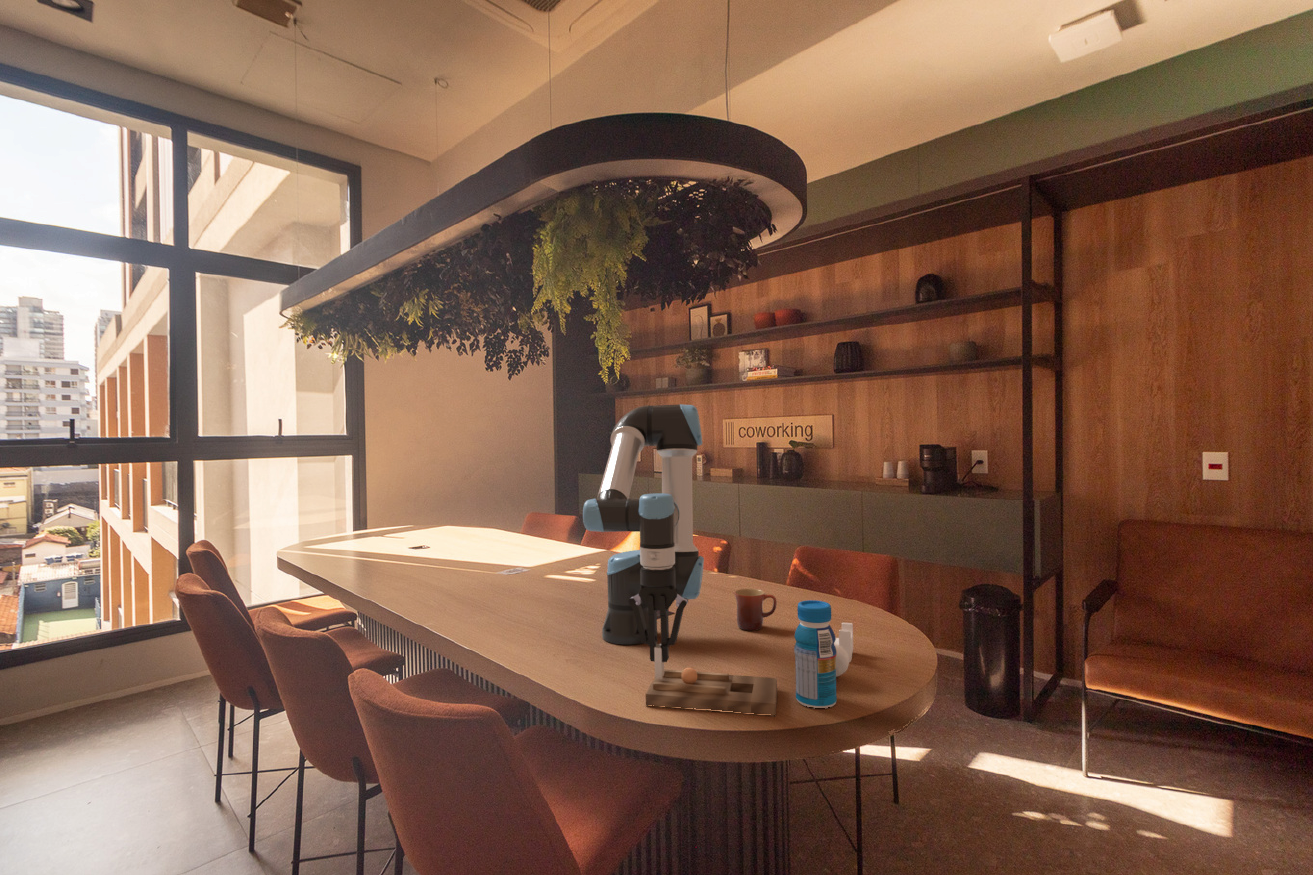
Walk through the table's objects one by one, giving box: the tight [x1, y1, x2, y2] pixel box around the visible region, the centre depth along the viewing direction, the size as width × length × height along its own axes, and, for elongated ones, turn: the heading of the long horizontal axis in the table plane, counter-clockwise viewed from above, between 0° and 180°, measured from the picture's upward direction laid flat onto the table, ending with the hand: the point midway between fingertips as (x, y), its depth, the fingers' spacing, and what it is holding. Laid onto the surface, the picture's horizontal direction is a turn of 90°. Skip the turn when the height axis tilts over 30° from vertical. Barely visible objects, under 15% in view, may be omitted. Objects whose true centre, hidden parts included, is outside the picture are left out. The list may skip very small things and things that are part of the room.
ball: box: [681, 667, 698, 684], centre depth 128 cm, size 3×3×3 cm
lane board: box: [645, 669, 778, 716], centre depth 127 cm, size 26×13×4 cm, turn 77°
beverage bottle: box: [793, 599, 837, 709], centre depth 124 cm, size 8×8×20 cm
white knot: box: [834, 643, 850, 678], centre depth 136 cm, size 11×12×9 cm
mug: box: [733, 588, 778, 632], centre depth 174 cm, size 12×9×10 cm
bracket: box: [834, 622, 854, 663], centre depth 152 cm, size 13×7×8 cm, turn 67°
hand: (659, 676), depth 129 cm, fingers closed
